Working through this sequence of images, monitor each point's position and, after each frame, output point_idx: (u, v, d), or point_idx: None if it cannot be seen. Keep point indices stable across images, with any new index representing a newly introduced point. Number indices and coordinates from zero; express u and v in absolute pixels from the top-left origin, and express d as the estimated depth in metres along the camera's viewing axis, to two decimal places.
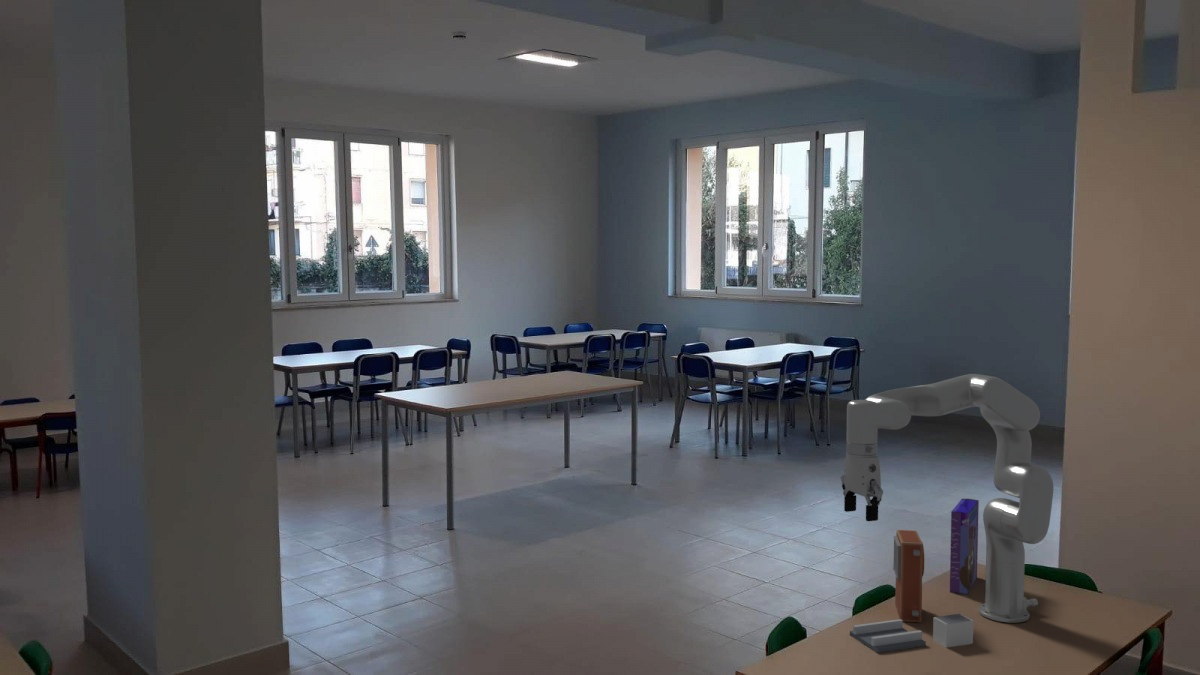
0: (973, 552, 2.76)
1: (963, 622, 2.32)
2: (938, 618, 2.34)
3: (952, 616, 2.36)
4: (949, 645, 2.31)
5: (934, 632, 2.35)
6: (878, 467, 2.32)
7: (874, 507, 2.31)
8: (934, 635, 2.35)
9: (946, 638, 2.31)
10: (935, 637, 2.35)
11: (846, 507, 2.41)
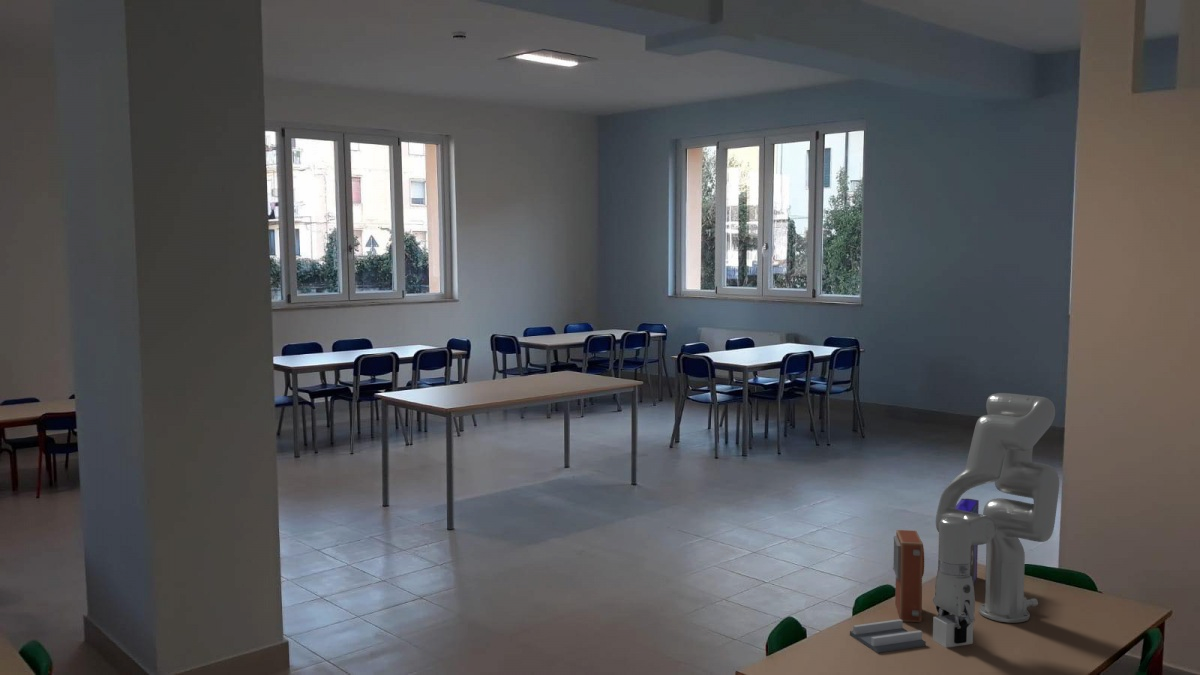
0: (973, 552, 2.76)
1: None
2: (938, 618, 2.34)
3: (952, 616, 2.36)
4: (949, 645, 2.31)
5: (934, 632, 2.35)
6: (972, 587, 2.30)
7: (963, 630, 2.31)
8: (934, 635, 2.35)
9: (946, 637, 2.31)
10: (935, 637, 2.35)
11: None
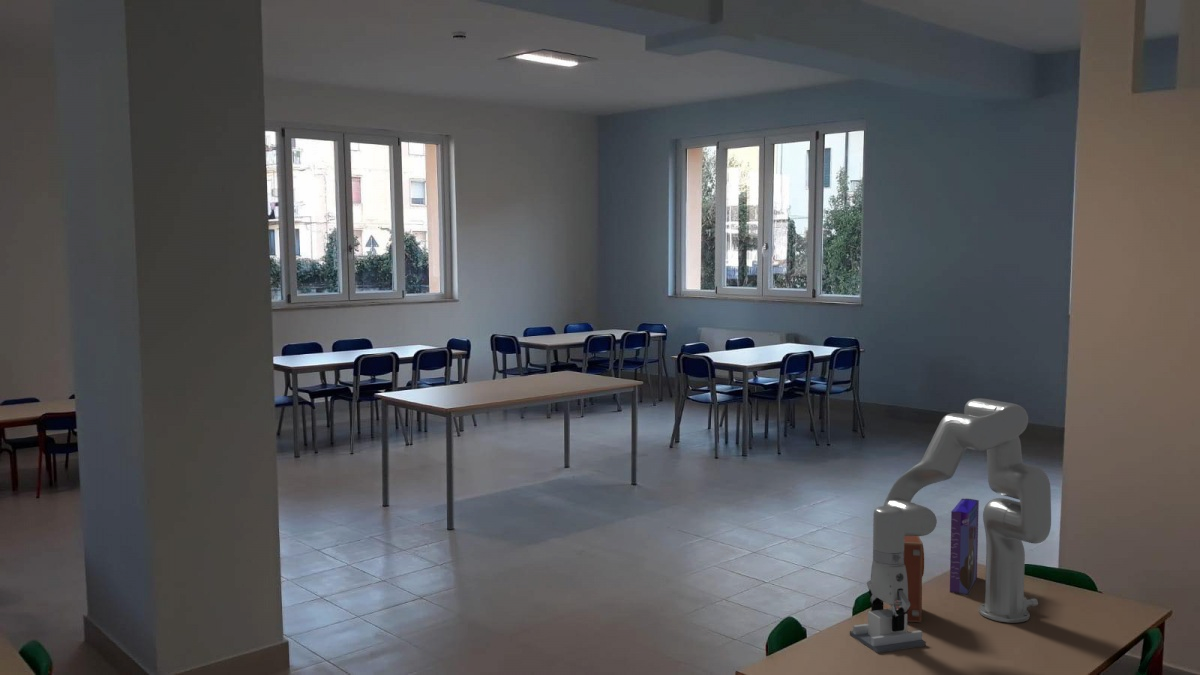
0: (973, 552, 2.76)
1: None
2: (872, 612, 2.36)
3: (887, 610, 2.37)
4: None
5: (869, 626, 2.36)
6: (905, 576, 2.31)
7: (900, 617, 2.30)
8: (869, 629, 2.36)
9: (879, 631, 2.32)
10: (870, 631, 2.36)
11: None
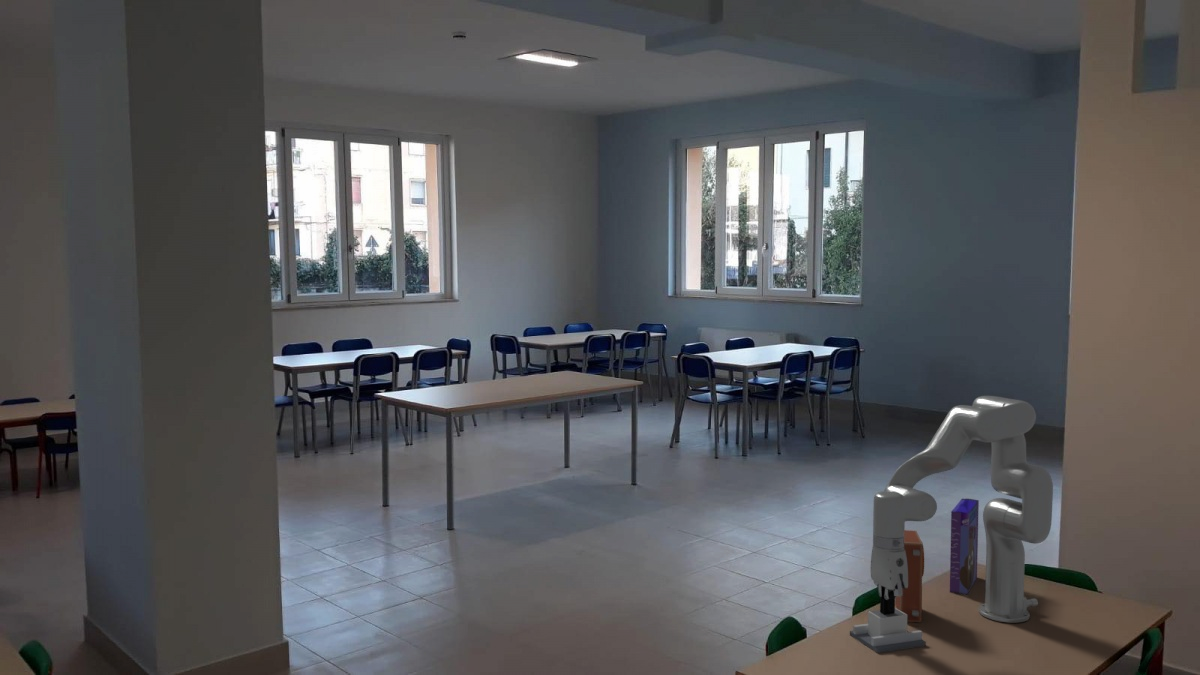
0: (973, 552, 2.76)
1: (897, 616, 2.33)
2: (872, 612, 2.36)
3: None
4: None
5: (869, 626, 2.36)
6: (905, 561, 2.30)
7: (891, 601, 2.34)
8: (869, 629, 2.36)
9: (879, 631, 2.32)
10: (870, 631, 2.36)
11: (882, 609, 2.35)
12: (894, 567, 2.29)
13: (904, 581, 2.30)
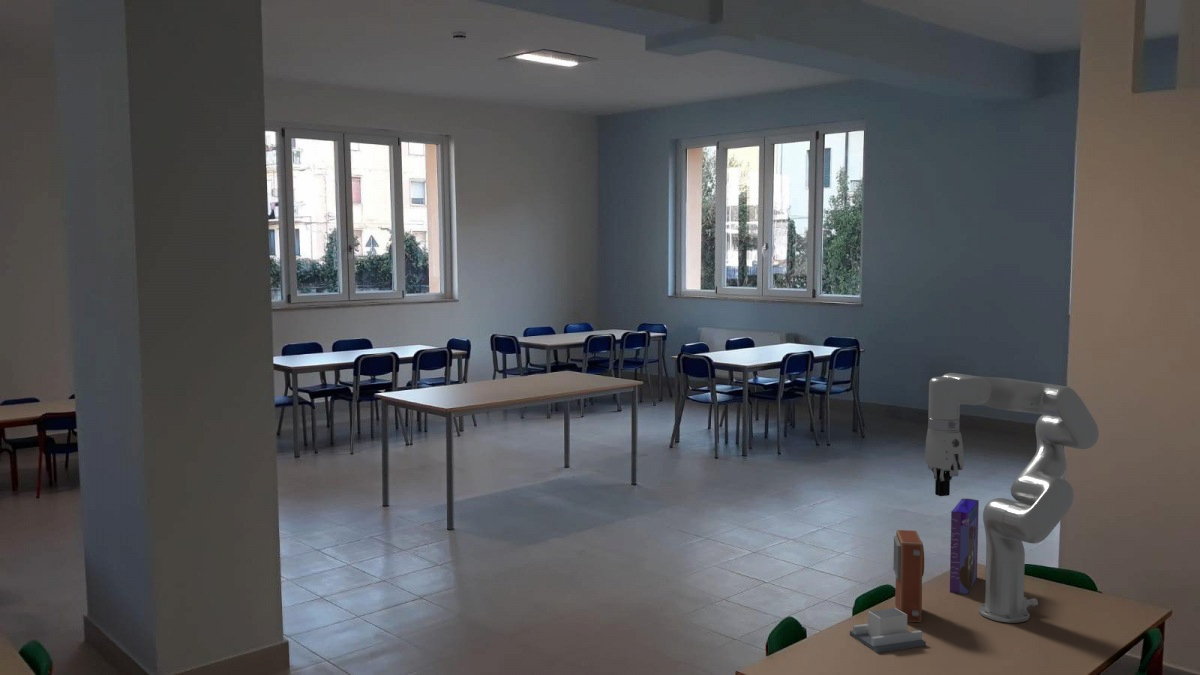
0: (973, 552, 2.76)
1: (897, 616, 2.33)
2: (872, 612, 2.36)
3: (887, 610, 2.37)
4: None
5: (869, 626, 2.36)
6: (961, 442, 2.37)
7: (946, 482, 2.40)
8: (869, 629, 2.36)
9: (879, 631, 2.32)
10: (870, 631, 2.36)
11: (937, 491, 2.41)
12: (950, 447, 2.36)
13: (960, 461, 2.36)
